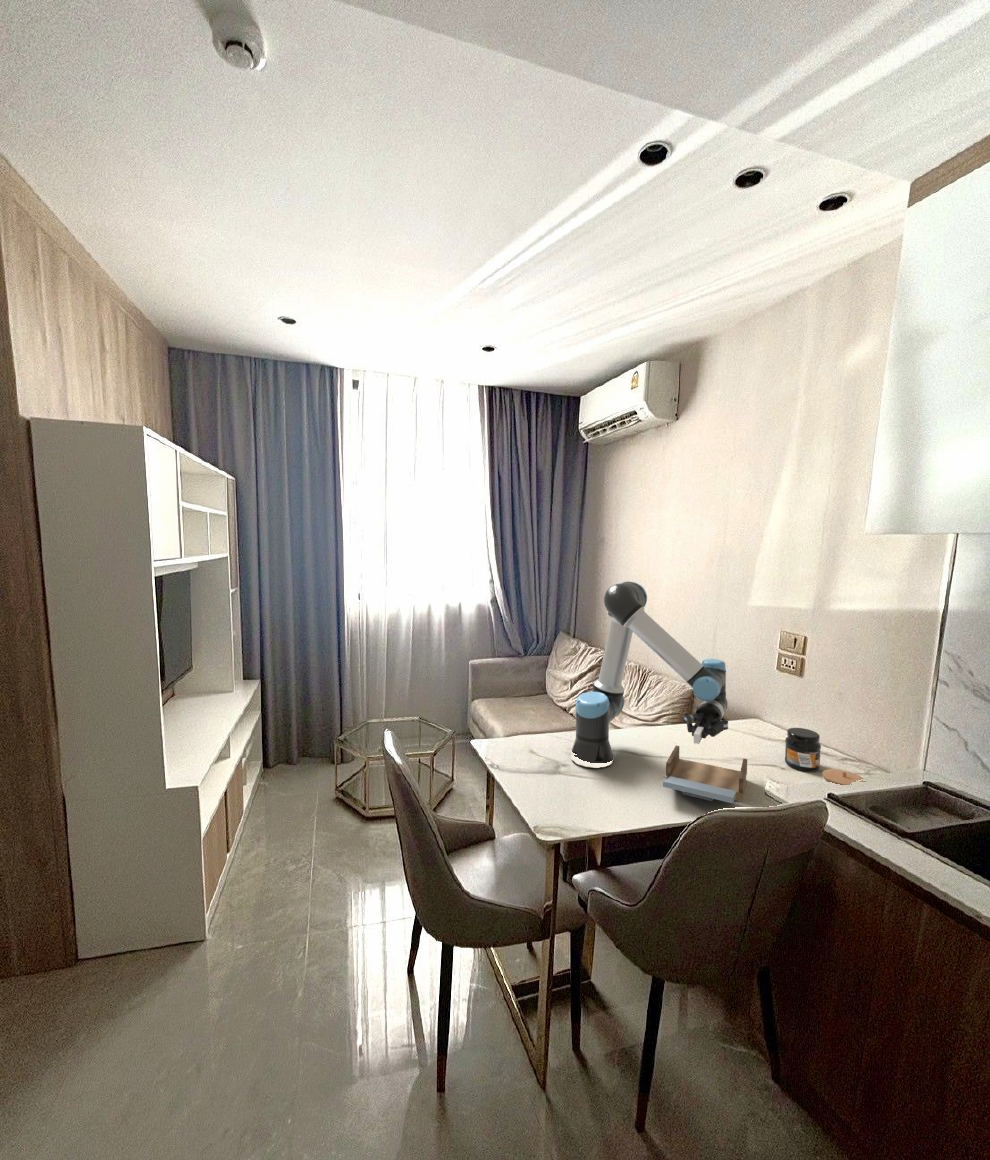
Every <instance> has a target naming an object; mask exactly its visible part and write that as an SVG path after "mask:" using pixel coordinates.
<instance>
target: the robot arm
mask: <svg viewBox="0 0 990 1160" xmlns="http://www.w3.org/2000/svg"><path fill="white" fill-rule="evenodd" d="M647 601H648V594H647V591H646V589H645V588H644V586H642V584H639V583H638V582H636V581H623V582H621V583H616V584H613V585H612V586H610V587H609V588H608V589H607V590H606V591H605V594H604V597H603V603H604V607H605V609H606V611H607V612H608V613H607V616H608V617H609V619H610V624H609V628H608V633H607V638H606V641H605V642H606V643H605V648H604V652H603V657H602V661H601V666H600V671H599V677H598V679H595V680H594V681H593V685H592V689H591V691H587V692H583V693H581V694H579V695H578V696H577V698H576V701H575V739H574V742H573V745H572V748H571V751H572V752H573V753H575V754H577V755H574V756H575V757H578V758H579V759H581V760H583V761H587V762H590V763H607V762H610V761H612V760H613V758H614V756H615V755H614V751H613V750H612V746H611V744H610V739H609V738H610V735H609V734H610V733H609V732H610V730H609V729H610V728H609V727H610V723H611V722H612V721H613V720H614V719H615V718H616V717H618V716H619V715H621V712H622V711H623V708H624V706H625V698H624V693H625V688H624V687H623V685H622V684H623V683H622V682H623V679H624V674H625V670H626V664H627V661H628V660H627V659H628V656H629V652H630V647H631V641H632V637H633V634H635V636H637V637H638V638H640V640H641V641H642V642H644V644H645V645H646V646H648V647H649V648H650V649H651V650H652V652H654V653H655V654H656V655H657V656H658V657H659V658H661V660H662V661H664V662H665V663H666V664H667V665H668V666H669V667H670V668H671V669H672V670H673V671H674V672H675V673H676V674H677V675H679V676H680V678H682V680H683V681H684V682H686V683H687V684H688V685H689V686H690V687H691V688H692V692H693V694H694V695H695V697H696V698H697V699H698V700H700V701H701V703H700V704H699V705H698V707H697V709H696V711H695V713H693V714H689V713H684V716H683V719H684V720H683V721H684V723H685V724H686V727H687V732H688V733H691V736H692V737H693V744H697V745H699V744H701V741H702V739H706V738H707V737H708V736H710V737H711V738H715V737H716V736H718V735H719V734H721V733H722V732H723V731H726V730H729V720H722V719H723V717H724V715H725V713H726V711H727V710H728V699H727V692H726V689H727V686H726V685H727V684H726V682H727V681H726V679H727V668H726V662H725V661H723V660H720V659H717V658H706V659H703V660H702V661H699V660H698V659H697V658H696V657H694V656H693V655H692V654H691V653H690V652H689V651H688V649H686V648H685V647H683V645H681V644H680V642H678V641H677V640H676V639H675V638H674V637H673V636H672V635H671V634H670V633H668V632H667V630H665V629H664V628H663V627H662V626H660V624H659V623H657V621H655V620H654V619H653V618H652V617H651V616H650V615H649V614H648V613H647V612H646V611H645V607H646V604H647ZM692 721H693V722H694V725H693V722H692ZM614 759H615V758H614Z"/></svg>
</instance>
